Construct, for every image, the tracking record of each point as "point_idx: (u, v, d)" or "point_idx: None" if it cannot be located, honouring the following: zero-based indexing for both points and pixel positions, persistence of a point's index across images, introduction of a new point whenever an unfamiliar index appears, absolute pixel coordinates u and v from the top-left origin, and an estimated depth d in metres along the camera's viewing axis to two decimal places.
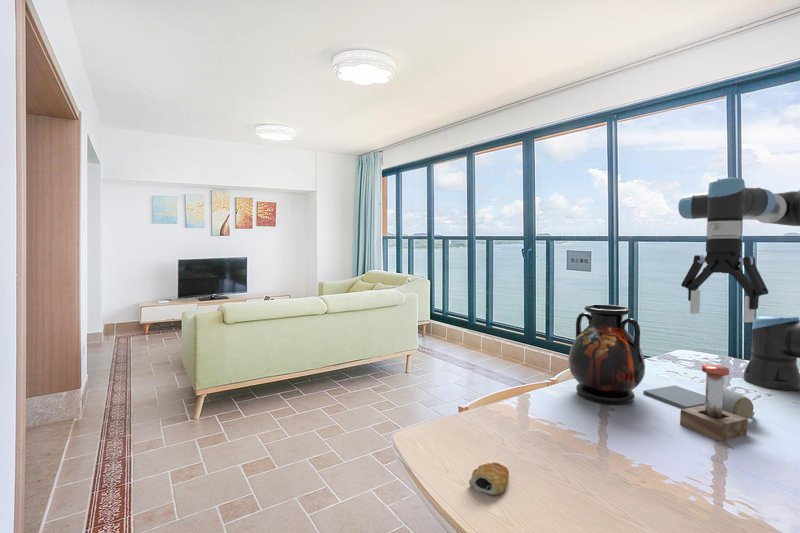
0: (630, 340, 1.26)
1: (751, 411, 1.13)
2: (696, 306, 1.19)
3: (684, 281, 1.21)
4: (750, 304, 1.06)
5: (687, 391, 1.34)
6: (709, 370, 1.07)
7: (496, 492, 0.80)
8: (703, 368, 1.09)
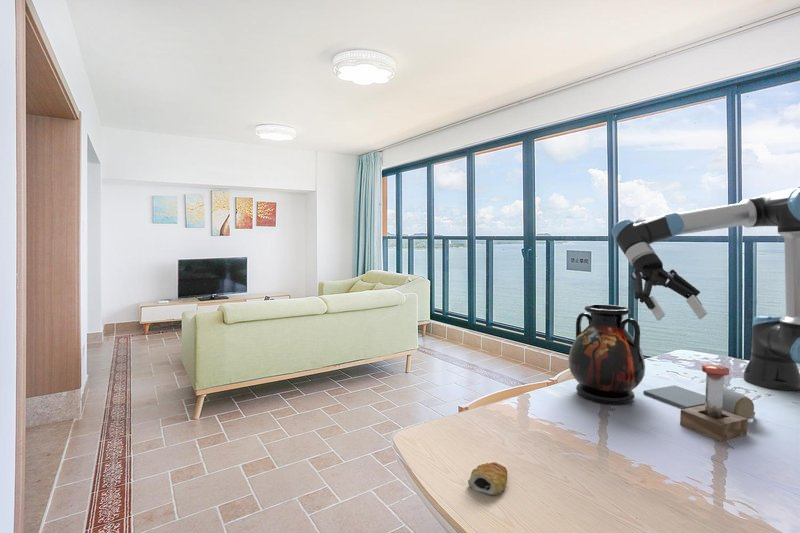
0: (630, 340, 1.26)
1: (752, 411, 1.13)
2: (698, 310, 1.20)
3: None
4: None
5: (687, 391, 1.34)
6: (709, 370, 1.07)
7: (495, 492, 0.80)
8: (703, 368, 1.09)
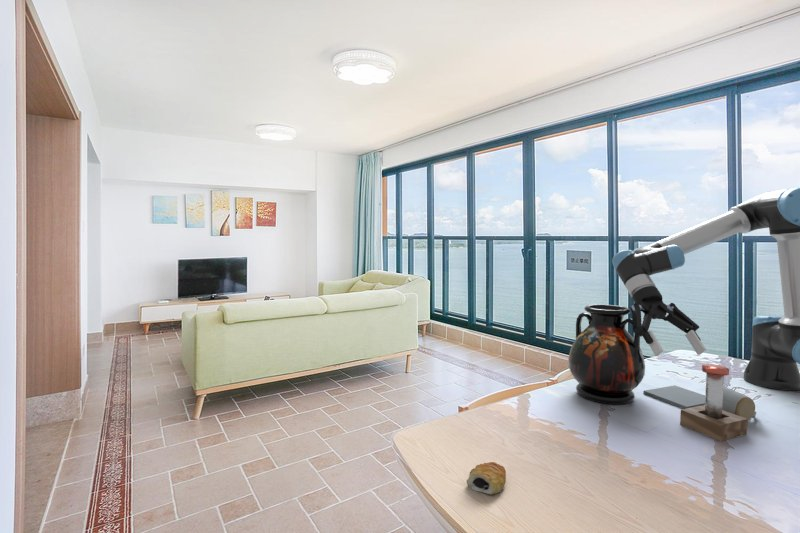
0: (630, 340, 1.26)
1: (753, 411, 1.14)
2: (696, 346, 1.20)
3: None
4: None
5: (687, 391, 1.34)
6: (709, 370, 1.07)
7: (494, 492, 0.81)
8: (703, 368, 1.09)
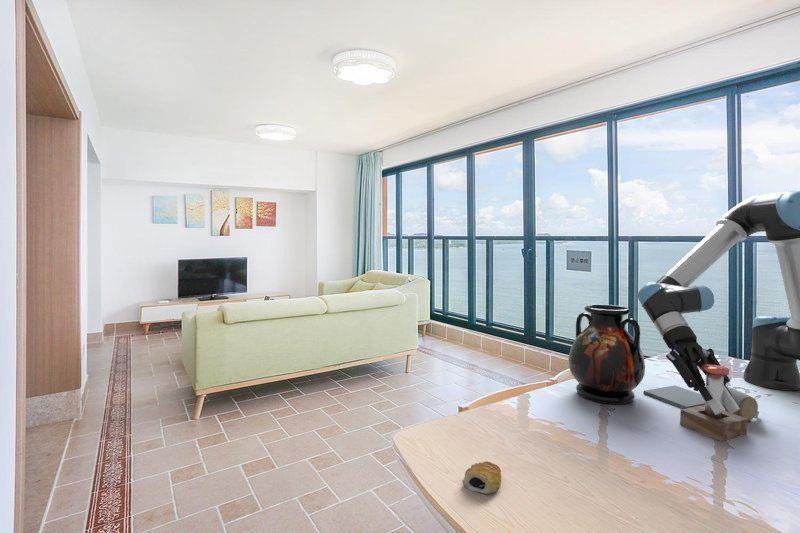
0: (630, 340, 1.26)
1: (756, 410, 1.14)
2: (728, 403, 1.07)
3: None
4: None
5: (687, 391, 1.34)
6: (709, 370, 1.07)
7: (490, 491, 0.81)
8: (703, 368, 1.09)
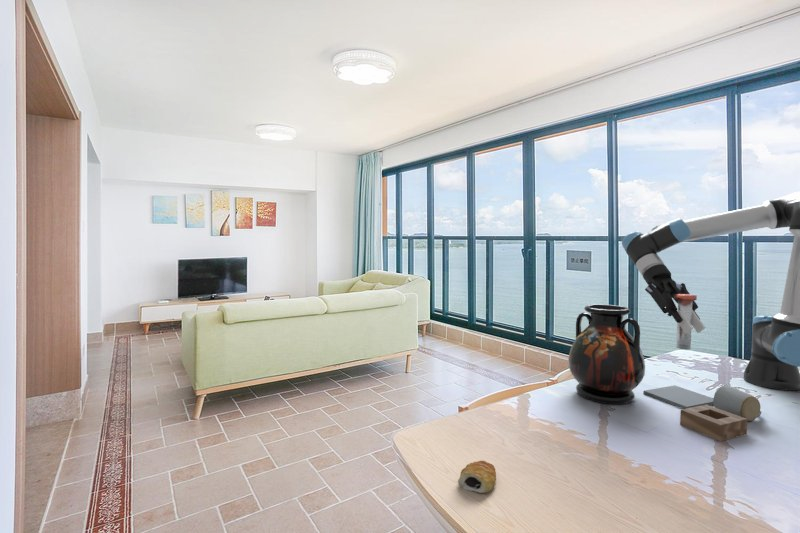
0: (630, 340, 1.26)
1: (758, 410, 1.14)
2: (696, 324, 1.27)
3: None
4: None
5: (687, 391, 1.34)
6: (680, 296, 1.27)
7: (486, 490, 0.81)
8: (675, 296, 1.29)
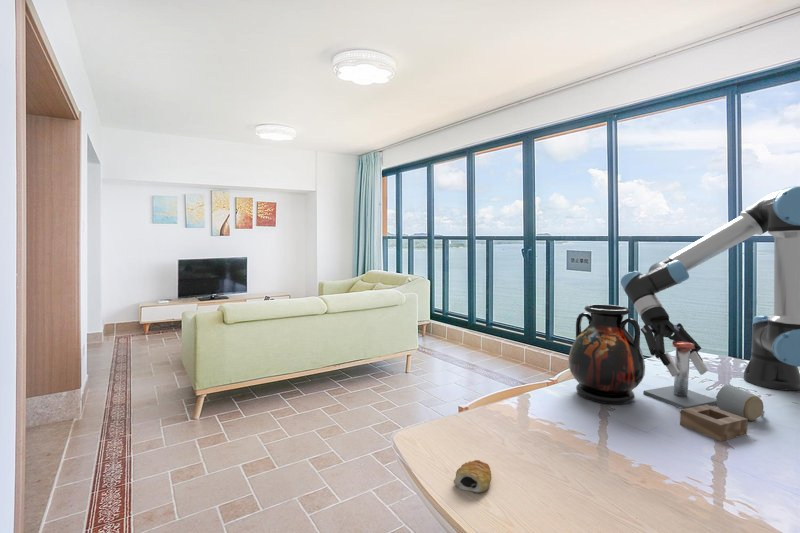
0: (630, 340, 1.26)
1: (761, 410, 1.14)
2: (699, 366, 1.29)
3: None
4: None
5: None
6: (678, 345, 1.28)
7: (482, 490, 0.81)
8: (673, 343, 1.30)
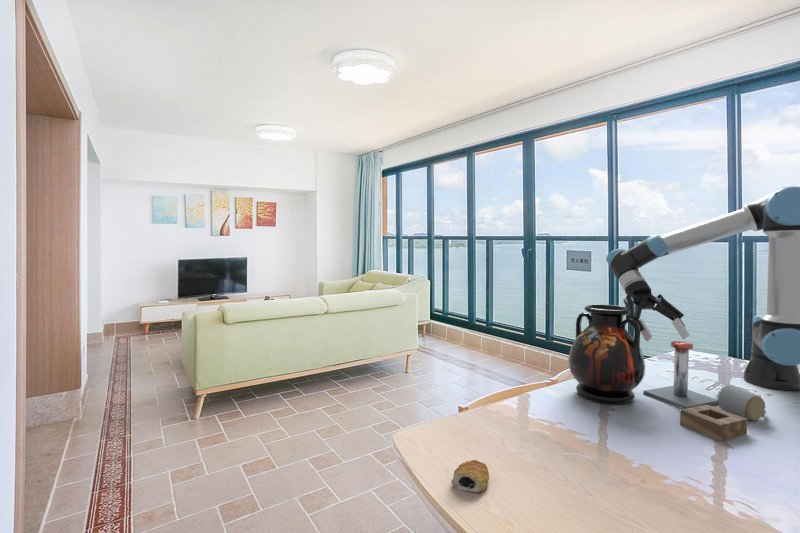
0: (630, 340, 1.26)
1: (763, 410, 1.14)
2: (681, 331, 1.38)
3: None
4: None
5: None
6: (676, 345, 1.28)
7: (480, 490, 0.81)
8: (672, 344, 1.30)
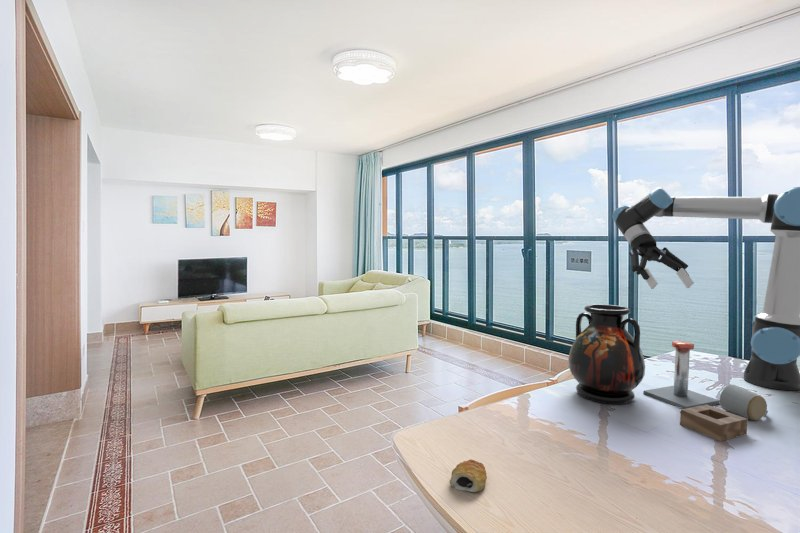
0: (630, 340, 1.26)
1: (765, 409, 1.15)
2: (686, 280, 1.42)
3: None
4: None
5: None
6: (677, 345, 1.28)
7: (478, 489, 0.81)
8: (673, 344, 1.30)
